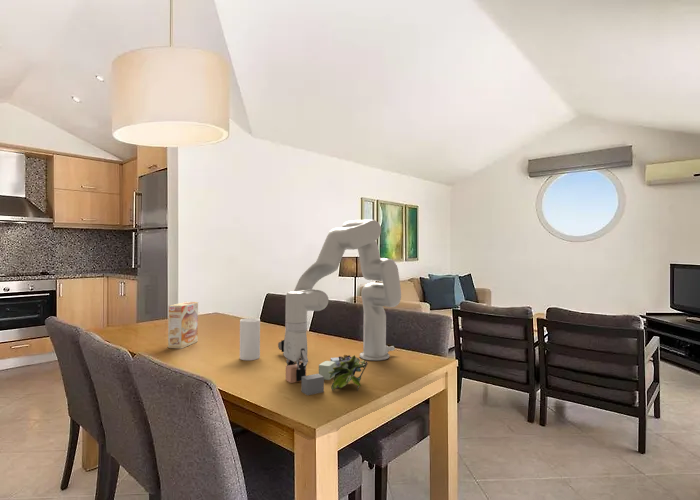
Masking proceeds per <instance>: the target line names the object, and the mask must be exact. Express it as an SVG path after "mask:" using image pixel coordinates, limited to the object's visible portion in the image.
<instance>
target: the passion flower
mask: <svg viewBox="0 0 700 500" xmlns="http://www.w3.org/2000/svg"><path fill="white" fill-rule="evenodd" d="M338 357H339V361H340V362H338V364H336V366H334V367H333V371H331V372H329V374H331V375H330V378H331V377H332V376H333V375H335V376H334V377H333V378H331V379H333V382H331V386H330V387H331V391H334V390H336V389H338V388H339V389H342V388H344V387H345V386H347V385H348V384H349V383H350V382H351V381H352V382H353V383H354V384H355V385H356V386H357V388H356V389H357V390H356V391H359V387H361V379H362V376H363V374H364V371H365V370H366V368H367V366H368V360H365V359H362V361H361V360H360V357H357V356H356V355H352V356H351V355H350V354H349V355H347V354H344V355H343V356H338ZM341 359H342V360H341ZM362 368H363V369H362ZM356 372H357V373H360V375H359V376H355V375H356Z"/></svg>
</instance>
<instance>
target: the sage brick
mask: <svg viewBox="0 0 700 500" xmlns="http://www.w3.org/2000/svg"><path fill="white" fill-rule="evenodd" d="M334 366H336V362H333V361H330V360H324V361H323V362H321V363H320V364H318V374H319V375H321V376H323V377H324V381H330V380H331V379H333V378H334V376H335V375H333V376H332V377H331V378H330V375H331V374H329V372H331V371H333V367H334Z"/></svg>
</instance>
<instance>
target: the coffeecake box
mask: <svg viewBox="0 0 700 500" xmlns="http://www.w3.org/2000/svg"><path fill="white" fill-rule="evenodd" d="M198 318H199V302H198V301H184V302H179V303H175V304H169V305H168V322H167V323H168V324H167V325H168V326H167V327H168V331H167V332H168V333H167V336H168V337H167V339H168V340H167V343H168V345H167V348H169V349H184V348H186V347H189V346H191V345H194V344H195V343H198V340H199V339H198V336H199V334H198V333H199V332H198V331H199V330H198V329H199V328H198V327H199V319H198Z"/></svg>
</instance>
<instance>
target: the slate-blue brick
mask: <svg viewBox="0 0 700 500" xmlns="http://www.w3.org/2000/svg"><path fill="white" fill-rule="evenodd" d="M341 360H342V359H341ZM329 361H333V362H336V364H338V362H340V361H339V356H338V357H330V360H329Z"/></svg>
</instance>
